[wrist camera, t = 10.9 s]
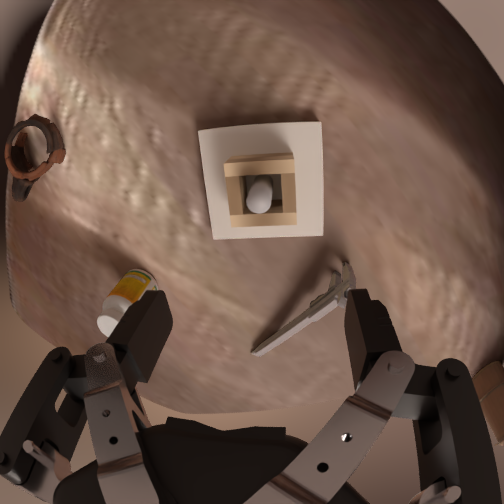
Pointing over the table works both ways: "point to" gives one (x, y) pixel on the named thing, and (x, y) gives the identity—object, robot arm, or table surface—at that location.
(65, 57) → the table surface
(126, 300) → the supplement bottle
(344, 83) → the table surface
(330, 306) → the caliper
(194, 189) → the table surface
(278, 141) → the peg base plate
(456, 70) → the table surface
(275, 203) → the hollow block
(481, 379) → the binoculars
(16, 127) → the brown curved piece
